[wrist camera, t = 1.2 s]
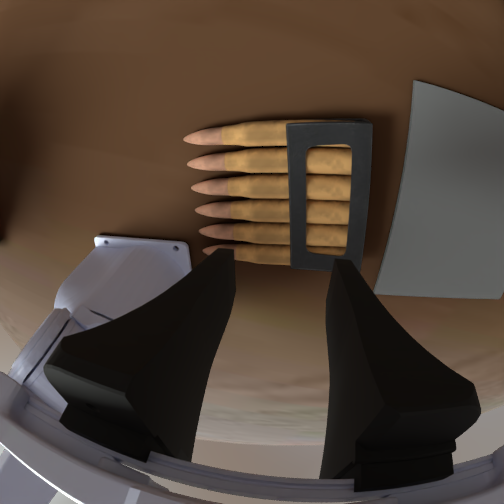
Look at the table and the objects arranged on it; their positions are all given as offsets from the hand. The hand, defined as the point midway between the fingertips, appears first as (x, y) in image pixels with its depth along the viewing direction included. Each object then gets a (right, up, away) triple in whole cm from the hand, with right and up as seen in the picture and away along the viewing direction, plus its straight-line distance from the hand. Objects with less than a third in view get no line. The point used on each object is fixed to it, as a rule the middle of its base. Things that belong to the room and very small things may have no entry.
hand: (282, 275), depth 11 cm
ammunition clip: (+7, +4, +7) cm, 11 cm away
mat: (+17, +4, +7) cm, 18 cm away
